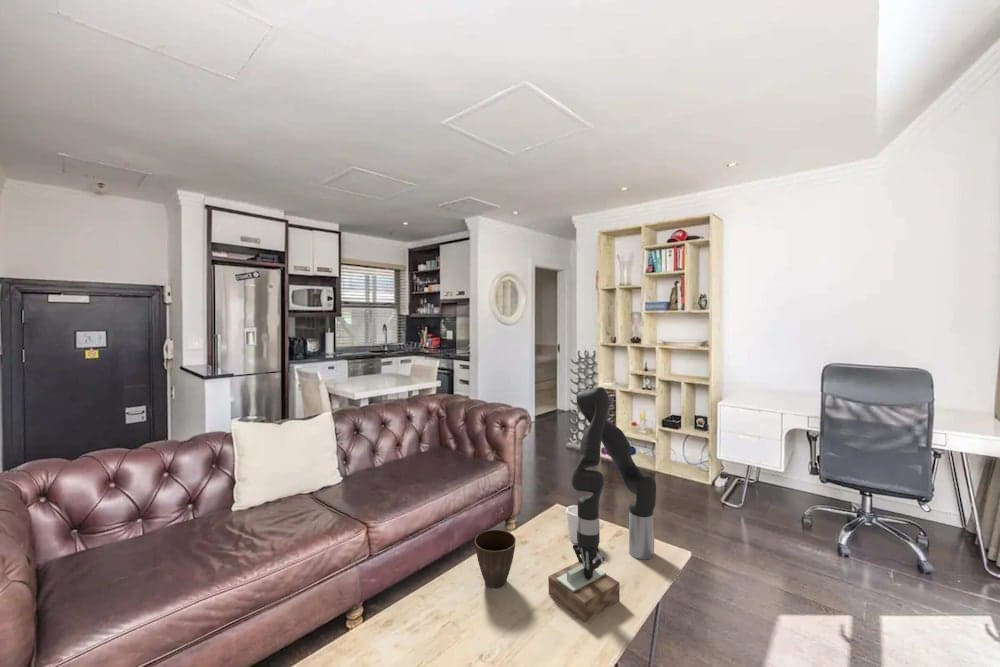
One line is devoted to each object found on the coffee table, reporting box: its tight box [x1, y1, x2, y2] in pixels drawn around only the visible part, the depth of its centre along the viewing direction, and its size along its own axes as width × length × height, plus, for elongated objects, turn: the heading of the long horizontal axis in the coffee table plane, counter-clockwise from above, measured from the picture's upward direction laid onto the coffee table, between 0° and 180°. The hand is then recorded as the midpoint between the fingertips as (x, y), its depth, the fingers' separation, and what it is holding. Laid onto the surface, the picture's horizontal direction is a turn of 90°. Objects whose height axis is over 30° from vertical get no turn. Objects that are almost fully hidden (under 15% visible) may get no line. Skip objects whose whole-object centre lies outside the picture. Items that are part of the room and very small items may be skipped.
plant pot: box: [474, 529, 517, 589], centre depth 158 cm, size 15×15×16 cm
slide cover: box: [556, 562, 607, 592], centre depth 149 cm, size 16×8×4 cm, turn 125°
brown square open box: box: [548, 560, 620, 623], centre depth 149 cm, size 17×17×6 cm
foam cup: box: [565, 505, 578, 544], centre depth 186 cm, size 10×9×13 cm
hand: (588, 578), depth 147 cm, fingers closed
